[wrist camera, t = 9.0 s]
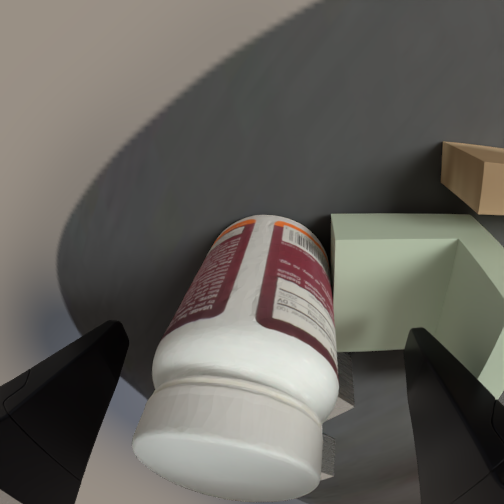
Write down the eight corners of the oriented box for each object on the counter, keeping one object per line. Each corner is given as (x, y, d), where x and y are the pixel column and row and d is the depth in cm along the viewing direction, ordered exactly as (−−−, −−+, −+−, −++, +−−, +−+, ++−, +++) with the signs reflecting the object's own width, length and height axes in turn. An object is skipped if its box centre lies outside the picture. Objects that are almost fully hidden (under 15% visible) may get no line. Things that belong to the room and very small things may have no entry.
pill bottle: (219, 312, 14) (154, 488, 7) (203, 212, 12) (73, 396, 4) (327, 316, 13) (324, 511, 6) (332, 211, 11) (361, 438, 4)
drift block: (447, 312, 12) (487, 413, 7) (328, 317, 13) (330, 433, 8) (470, 214, 10) (550, 303, 5) (331, 214, 11) (346, 320, 6)
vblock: (333, 446, 19) (331, 482, 16) (247, 443, 20) (240, 477, 17) (353, 337, 13) (358, 389, 11) (220, 335, 15) (203, 384, 12)
